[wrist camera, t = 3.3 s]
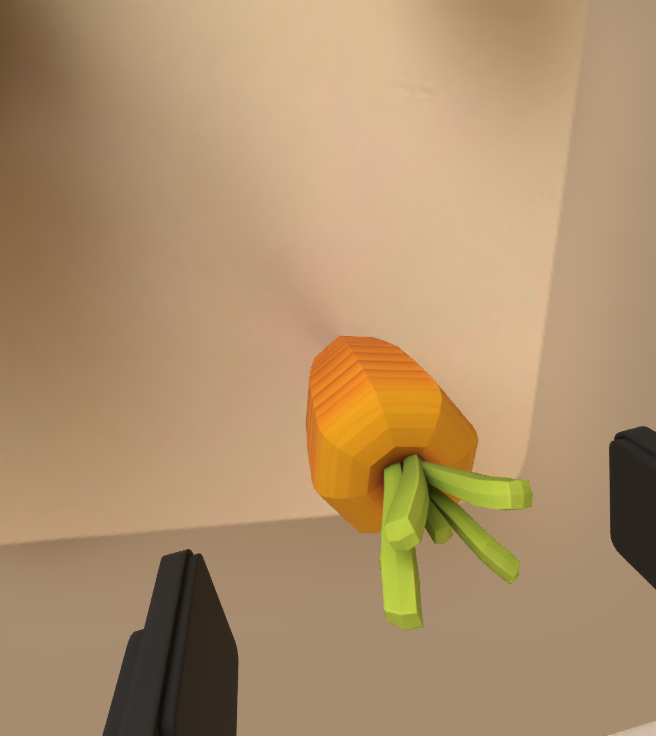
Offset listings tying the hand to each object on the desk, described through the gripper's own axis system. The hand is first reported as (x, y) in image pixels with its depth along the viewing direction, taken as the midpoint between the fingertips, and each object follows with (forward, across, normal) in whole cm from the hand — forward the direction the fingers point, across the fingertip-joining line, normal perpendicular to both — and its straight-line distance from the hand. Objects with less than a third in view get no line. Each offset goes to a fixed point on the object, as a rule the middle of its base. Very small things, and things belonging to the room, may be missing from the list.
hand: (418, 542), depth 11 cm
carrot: (+14, -1, 0) cm, 14 cm away
